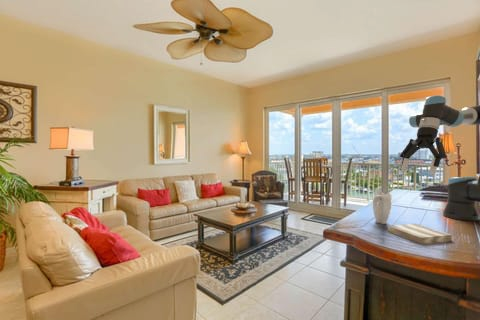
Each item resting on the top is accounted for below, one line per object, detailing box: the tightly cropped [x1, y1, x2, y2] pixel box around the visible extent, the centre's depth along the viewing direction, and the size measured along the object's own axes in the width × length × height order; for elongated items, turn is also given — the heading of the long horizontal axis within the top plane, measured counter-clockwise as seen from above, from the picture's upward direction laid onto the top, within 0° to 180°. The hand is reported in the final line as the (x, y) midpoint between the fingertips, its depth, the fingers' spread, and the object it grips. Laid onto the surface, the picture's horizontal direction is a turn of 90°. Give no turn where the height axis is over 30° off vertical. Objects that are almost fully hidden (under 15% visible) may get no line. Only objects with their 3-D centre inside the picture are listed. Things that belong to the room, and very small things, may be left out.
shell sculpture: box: [372, 187, 392, 225], centre depth 125 cm, size 8×8×18 cm
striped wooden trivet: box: [387, 223, 453, 245], centre depth 106 cm, size 16×16×2 cm
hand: (417, 172), depth 111 cm, fingers open, 13 cm apart
